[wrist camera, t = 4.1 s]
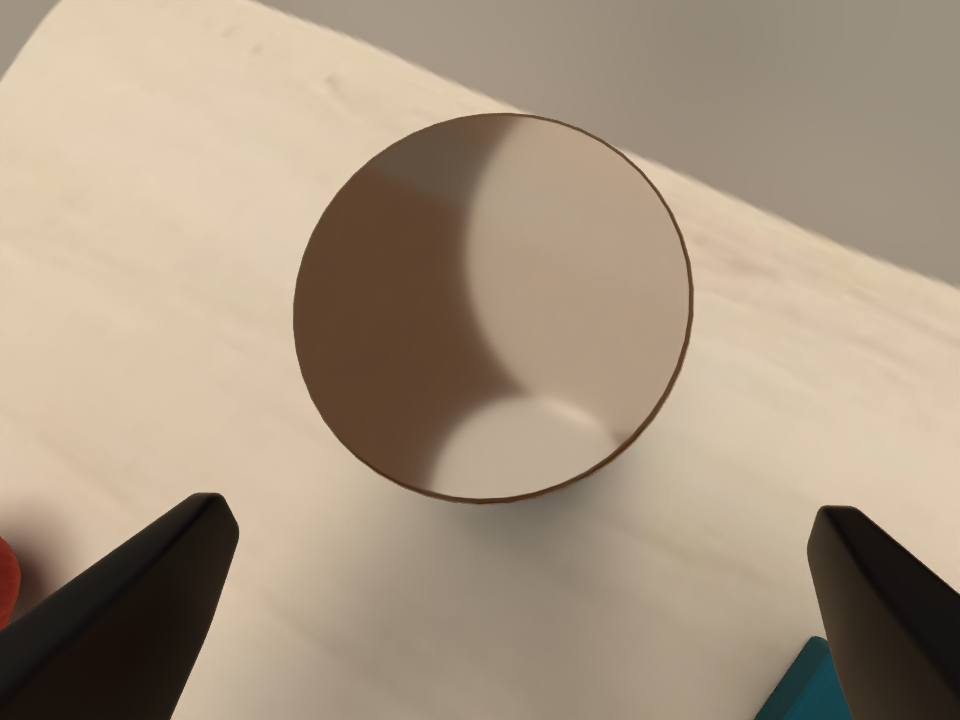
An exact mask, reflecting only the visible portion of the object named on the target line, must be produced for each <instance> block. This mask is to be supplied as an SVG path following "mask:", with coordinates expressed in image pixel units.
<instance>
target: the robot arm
mask: <svg viewBox="0 0 960 720" xmlns="http://www.w3.org/2000/svg"><path fill="white" fill-rule="evenodd" d="M238 539H239V527H238V524H237V522H236V520H235V518H234V516H233V514H232V512H231V510H230V508H229V506H228V504H227V502H226V500H225V498H224V497H223V496H222V495H221V494H219V493H195V494H193V495H191V496H189V497H188V498H187V499H185V500H184V501H182V502H181V503H179V504H178V505H177V506H175V507H174V508H172V509H171V510H170V511H168V512H167V513H165V514H164V515H163V516H161V517H160V518H158V519H157V520H156V521H154V522H153V523H151V524H150V525H149V526H147V527H146V528H144V529H143V530H141V531H140V532H139V533H137V534H136V535H134V536H133V537H132V538H130V539H129V540H127V541H126V542H125V543H123V544H122V545H120V546H119V547H118V548H116V549H115V550H113V551H112V552H111V553H109V554H108V555H106V556H105V557H104V558H102V559H101V560H99V561H98V562H96V563H95V564H94V565H92V566H91V567H89V568H88V569H87V570H85V571H84V572H82V573H81V574H80V575H78V576H77V577H75V578H74V579H73V580H71V581H70V582H68V583H67V584H66V585H64V586H63V587H61V588H60V589H58V590H57V591H56V592H54V593H53V594H51V595H50V596H49V597H47V598H46V599H44V600H43V601H42V602H40V603H39V604H37V605H36V606H35V607H33V608H32V609H30V610H29V611H27V612H26V613H25V614H23V615H22V616H20V617H19V618H18V619H16V620H15V621H13V622H12V623H11V624H9V625H8V626H6V627H5V628H4V629H2V630H1V631H0V720H170V719H171V717H172V714H173V712H174V710H175V707H176V705H177V703H178V700H179V698H180V696H181V694H182V691H183V689H184V687H185V684H186V682H187V680H188V678H189V675H190V673H191V671H192V668H193V666H194V664H195V661H196V659H197V657H198V655H199V652H200V650H201V648H202V645H203V643H204V641H205V638H206V636H207V633H208V631H209V628H210V625H211V622H212V620H213V617H214V614H215V611H216V608H217V605H218V602H219V599H220V596H221V592H222V589H223V586H224V583H225V580H226V577H227V574H228V571H229V568H230V565H231V562H232V559H233V556H234V552H235V549H236V546H237V543H238ZM807 556H808V562H809V566H810V570H811V574H812V579H813V583H814V587H815V591H816V595H817V599H818V603H819V607H820V611H821V615H822V619H823V624H824V628H825V632H826V636H827V640H828V644H829V648H830V652H831V656H832V660H833V663H834V667H835V671H836V674H837V677H838V680H839V683H840V686H841V688H842V691H843V694H844V697H845V700H846V702H847V705H848V708H849V710H850V713H851V716H852V719H853V720H960V594H959V593H958V592H956V591H955V590H954V589H953V588H952V587H950V586H949V585H948V584H947V583H946V582H944V581H943V580H942V579H941V578H940V577H939V576H937V575H936V574H935V573H934V572H933V571H931V570H930V569H929V568H928V567H927V566H925V565H924V564H923V563H922V562H921V561H920V560H918V559H917V558H916V557H915V556H914V555H912V554H911V553H910V552H909V551H908V550H906V549H905V548H904V547H903V546H902V545H901V544H899V543H898V542H897V541H896V540H895V539H893V538H892V537H891V536H890V535H889V534H887V533H886V532H885V531H884V530H883V529H882V528H880V527H879V526H878V525H877V524H876V523H874V522H873V521H872V520H871V519H870V518H868V517H867V516H866V515H865V514H864V513H863V512H861V511H860V510H859V509H857V508H855V507H852V506H834V505H825V506H822V507H821V508H820V509H819V510H818V512H817V515H816V518H815V521H814V524H813V528H812V531H811V534H810V537H809V540H808V545H807Z"/></svg>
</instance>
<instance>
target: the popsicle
mask: <svg viewBox="0 0 960 720" xmlns="http://www.w3.org/2000/svg"><path fill="white" fill-rule="evenodd" d="M755 720H853V719H852V716H851V713H850V710H849V708H848V705H847V702H846V700H845V697H844V694H843V691H842V688H841V686H840V683H839V680H838V677H837V674H836V671H835V667H834V663H833V660H832V656H831V652H830V648H829V644H828V641H827V640H825V639H823V638H820V637H817V636H815V637H812V638H811V639H810V640H809V642H808V643H807V645H806V646H805V648H804V649H803V651H802V652H801V653H800V655H799V656H798V658H797V659H796V661H795V662H794V664H793V665H792V666H791V668H790V669H789V671H788V672H787V674H786V675H785V677H784V678H783V679H782V681H781V682H780V684H779V685H778V687H777V688H776V689H775V691H774V692H773V694H772V695H771V697H770V698H769V700H768V701H767V702H766V704H765V705H764V707H763V708H762V710H761V711H760V713H759V714H758V715H757V717H756V718H755Z"/></svg>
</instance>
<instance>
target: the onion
mask: <svg viewBox="0 0 960 720" xmlns="http://www.w3.org/2000/svg"><path fill="white" fill-rule="evenodd" d="M20 581H21V571H20V568H19V564H18V561H17V557H16V555H15V553H14V552H13V550H12V549H11V548H10V546H9V545H8V544H7V543H6V542H5V541H4V540H3V539H2V538H1V537H0V631H1V630H2V629H4V628H5V627H6V626H7V624H8V621H9V618H10V616H11V613H12V610H13V608H14V605H15V602H16V599H17V597H18V594H19V592H20Z"/></svg>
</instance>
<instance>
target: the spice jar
mask: <svg viewBox="0 0 960 720" xmlns="http://www.w3.org/2000/svg"><path fill="white" fill-rule="evenodd" d="M693 317H694V286H693V278H692V271H691V263H690V259H689V256H688V252H687V249H686V245H685V241H684V238H683V235H682V233H681V231H680V229H679V226H678V224H677V222H676V219H675V217H674V215H673V213H672V211H671V210H670V208H669V206H668V205H667V203H666V202H665V200H664V198H663V197H662V195H661V194H660V192H659V191H658V189H657V188H656V187H655V186H654V185H653V183H652V182H651V181H650V180H649V179H648V178H647V176H646V175H645V174H644V173H643V172H642V171H641V170H640V169H639V168H638V167H637V166H636V165H635V164H634V163H633V162H631V161H630V160H629V159H628V158H627V157H626V156H625V155H624V154H623V153H621V152H620V151H618V150H617V149H615V148H614V147H612V146H611V145H609V144H608V143H606V142H605V141H604V140H602V139H600V138H598V137H596V136H594V135H592V134H590V133H588V132H586V131H584V130H582V129H580V128H577V127H574V126H572V125H569V124H566V123H563V122H560V121H557V120H553V119H549V118H544V117H539V116H535V115H526V114H515V113H489V114H478V115H472V116H465V117H459V118H455V119H452V120H448V121H444V122H441V123H437V124H434V125H432V126H429V127H427V128H424V129H422V130H419V131H417V132H414V133H412V134H410V135H408V136H407V137H405V138H403V139H401V140H399V141H397V142H396V143H394V144H392V145H390V146H389V147H387V148H386V149H385V150H383V151H382V152H380V153H379V154H377V155H376V156H375V157H373V158H372V159H371V160H369V161H368V162H367V163H366V164H365V165H364V166H363V167H362V168H360V169H359V170H358V171H357V172H356V173H355V174H354V175H353V176H352V177H351V178H350V179H349V180H348V181H347V182H346V184H345V185H344V186H343V187H342V188H341V189H340V190H339V191H338V193H337V194H336V195H335V197H334V198H333V200H332V201H331V202H330V204H329V205H328V207H327V208H326V209H325V211H324V212H323V214H322V216H321V218H320V220H319V221H318V223H317V225H316V227H315V229H314V231H313V232H312V234H311V237H310V239H309V242H308V244H307V247H306V250H305V252H304V255H303V257H302V261H301V265H300V269H299V273H298V276H297V281H296V288H295V295H294V303H293V330H294V339H295V347H296V353H297V357H298V361H299V365H300V369H301V373H302V377H303V379H304V382H305V384H306V387H307V389H308V392H309V394H310V397H311V399H312V401H313V403H314V404H315V406H316V408H317V410H318V411H319V413H320V415H321V417H322V419H323V420H324V422H325V423H326V424H327V426H328V427H329V428H330V430H331V431H332V432H333V434H334V435H335V436H336V437H337V439H338V440H339V441H340V442H341V443H342V444H343V445H344V446H345V447H346V448H347V449H348V450H349V451H350V452H351V453H352V454H353V455H354V456H355V457H356V458H357V459H358V460H360V461H361V462H362V463H364V464H365V465H366V466H368V467H369V468H370V469H372V470H373V471H374V472H376V473H377V474H378V475H380V476H382V477H384V478H386V479H387V480H389V481H391V482H393V483H395V484H397V485H398V486H400V487H402V488H405V489H408V490H410V491H413V492H416V493H418V494H421V495H423V496H426V497H430V498H435V499H439V500H443V501H448V502H452V503H462V504H474V505H493V504H510V503H515V502H520V501H526V500H531V499H536V498H539V497H542V496H545V495H548V494H552V493H555V492H558V491H561V490H564V489H566V488H568V487H570V486H572V485H574V484H576V483H578V482H580V481H582V480H584V479H586V478H588V477H590V476H591V475H593V474H594V473H596V472H597V471H599V470H600V469H602V468H603V467H605V466H606V465H608V464H609V463H611V462H612V461H614V460H615V459H616V458H617V457H618V456H619V455H621V454H622V453H623V452H624V451H625V450H626V449H627V448H628V447H630V446H631V445H632V444H633V443H634V442H635V441H636V440H637V439H638V438H639V437H640V435H641V434H642V433H643V432H644V431H645V430H646V428H647V427H648V426H649V425H650V424H651V423H652V421H653V420H654V419H655V417H656V416H657V414H658V413H659V411H660V410H661V408H662V406H663V405H664V403H665V402H666V400H667V399H668V397H669V395H670V393H671V391H672V389H673V387H674V385H675V383H676V380H677V378H678V376H679V374H680V372H681V369H682V366H683V363H684V359H685V356H686V353H687V350H688V346H689V343H690V336H691V330H692V323H693Z"/></svg>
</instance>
